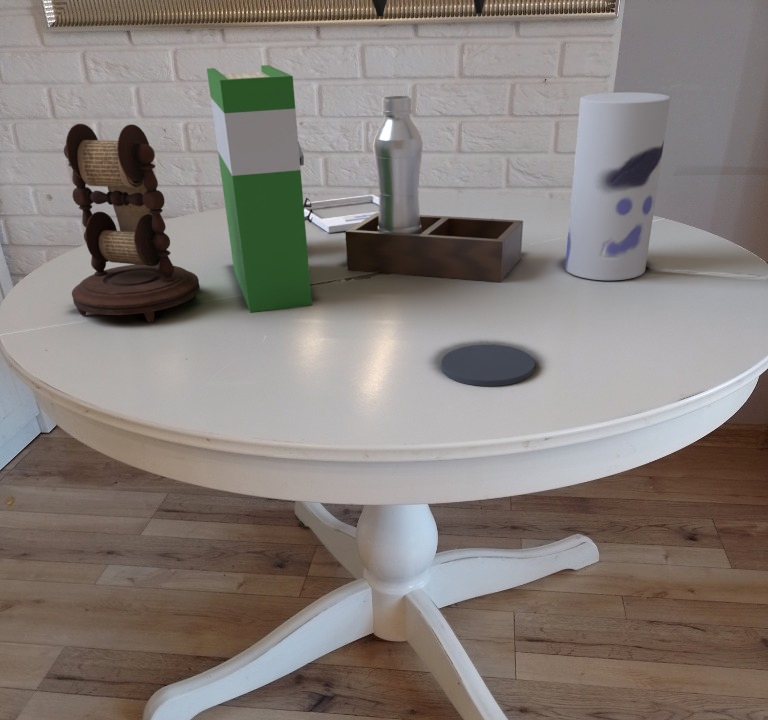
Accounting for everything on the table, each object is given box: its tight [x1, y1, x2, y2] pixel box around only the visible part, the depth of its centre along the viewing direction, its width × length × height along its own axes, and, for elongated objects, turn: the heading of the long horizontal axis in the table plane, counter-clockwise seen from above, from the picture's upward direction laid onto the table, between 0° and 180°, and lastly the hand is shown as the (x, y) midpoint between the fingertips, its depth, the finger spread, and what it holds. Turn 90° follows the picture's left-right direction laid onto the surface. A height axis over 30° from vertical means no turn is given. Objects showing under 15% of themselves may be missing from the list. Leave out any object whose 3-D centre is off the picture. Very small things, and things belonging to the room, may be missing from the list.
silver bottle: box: [372, 95, 424, 234], centre depth 103 cm, size 6×7×20 cm
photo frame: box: [303, 194, 379, 234], centre depth 132 cm, size 15×1×18 cm
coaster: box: [440, 344, 536, 387], centre depth 77 cm, size 9×9×1 cm
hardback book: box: [206, 64, 313, 313], centre depth 94 cm, size 18×7×24 cm, turn 15°
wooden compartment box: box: [344, 211, 524, 283], centre depth 106 cm, size 21×11×5 cm, turn 69°
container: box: [564, 91, 671, 281], centre depth 97 cm, size 10×10×20 cm
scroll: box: [63, 123, 201, 324], centre depth 91 cm, size 15×15×20 cm
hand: (426, 7), depth 104 cm, fingers open, 13 cm apart
